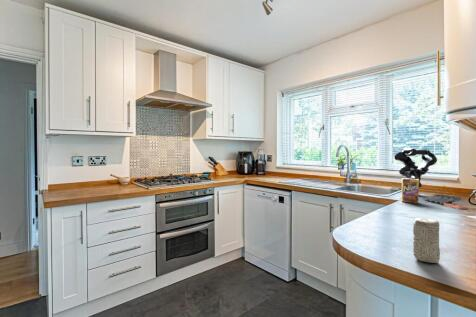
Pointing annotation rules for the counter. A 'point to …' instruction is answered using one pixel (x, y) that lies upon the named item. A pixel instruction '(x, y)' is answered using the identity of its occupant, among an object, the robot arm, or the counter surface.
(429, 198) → the domino
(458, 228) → the counter surface
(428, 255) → the carving
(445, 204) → the end domino
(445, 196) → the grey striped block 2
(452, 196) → the domino
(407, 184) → the candy box
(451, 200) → the domino
